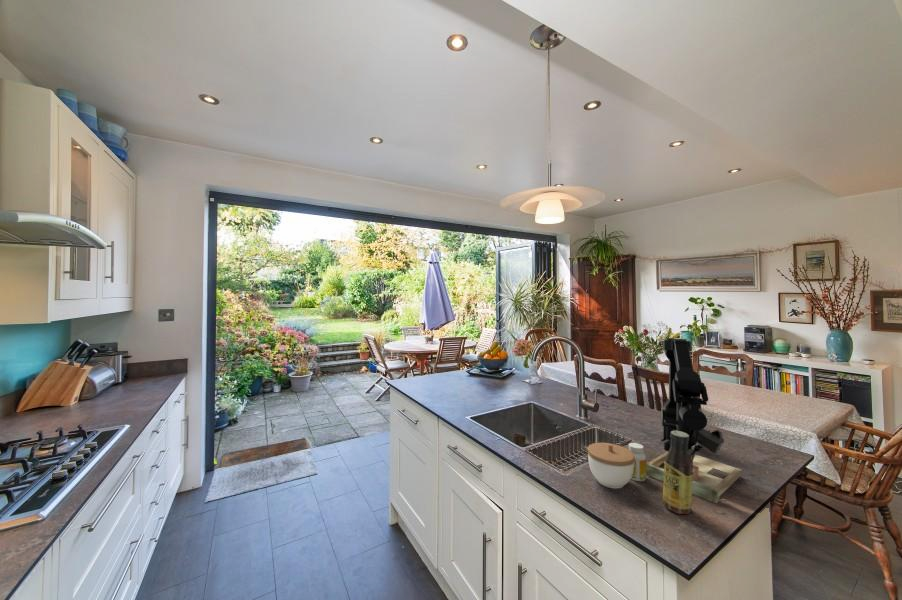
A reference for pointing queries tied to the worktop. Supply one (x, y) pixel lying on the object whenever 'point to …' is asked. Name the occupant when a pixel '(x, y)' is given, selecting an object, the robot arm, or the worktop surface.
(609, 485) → the lidded bowl
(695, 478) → the block
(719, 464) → the box
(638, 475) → the supplement bottle
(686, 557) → the worktop surface
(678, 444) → the sauce bottle
